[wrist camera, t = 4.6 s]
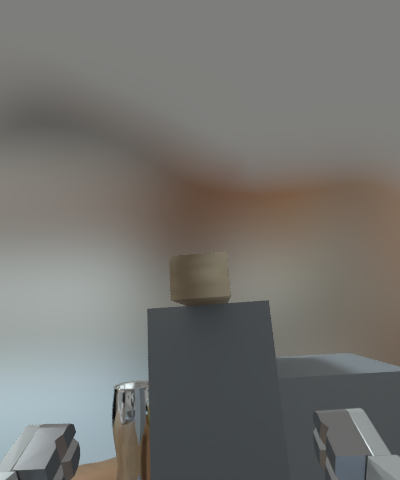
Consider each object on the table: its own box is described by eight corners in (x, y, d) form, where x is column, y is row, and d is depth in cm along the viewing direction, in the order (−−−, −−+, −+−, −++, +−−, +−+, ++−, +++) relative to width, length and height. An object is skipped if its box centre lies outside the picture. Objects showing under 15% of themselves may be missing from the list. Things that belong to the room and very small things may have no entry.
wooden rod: (170, 300, 20) (169, 256, 21) (197, 309, 43) (196, 288, 44) (230, 295, 20) (226, 251, 20) (225, 308, 43) (223, 287, 44)
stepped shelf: (153, 653, 23) (147, 308, 30) (178, 529, 37) (170, 311, 43) (477, 649, 22) (394, 291, 29) (379, 523, 35) (339, 300, 42)
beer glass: (145, 474, 50) (144, 378, 54) (166, 491, 45) (162, 383, 49) (104, 491, 46) (106, 385, 50) (121, 511, 41) (122, 391, 45)
